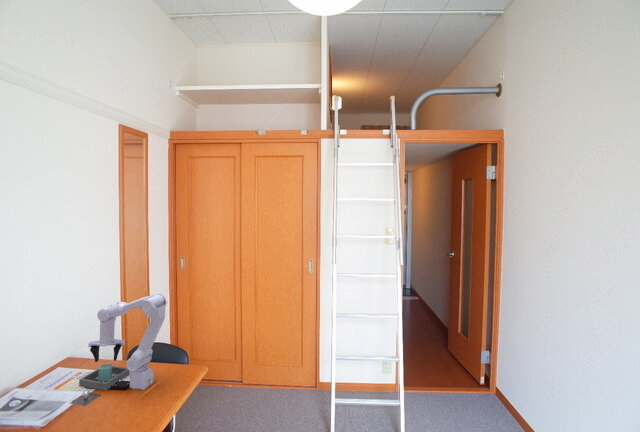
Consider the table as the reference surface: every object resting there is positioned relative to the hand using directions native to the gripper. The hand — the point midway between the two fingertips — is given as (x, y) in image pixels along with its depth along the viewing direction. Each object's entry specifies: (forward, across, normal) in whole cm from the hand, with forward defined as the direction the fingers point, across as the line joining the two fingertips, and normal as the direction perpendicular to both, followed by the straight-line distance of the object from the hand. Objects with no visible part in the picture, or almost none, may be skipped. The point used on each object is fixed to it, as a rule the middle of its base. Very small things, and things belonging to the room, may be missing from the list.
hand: (106, 360), depth 150 cm
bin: (+10, 0, -1) cm, 10 cm away
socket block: (+9, 0, -1) cm, 9 cm away
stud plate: (+10, -2, -16) cm, 19 cm away
